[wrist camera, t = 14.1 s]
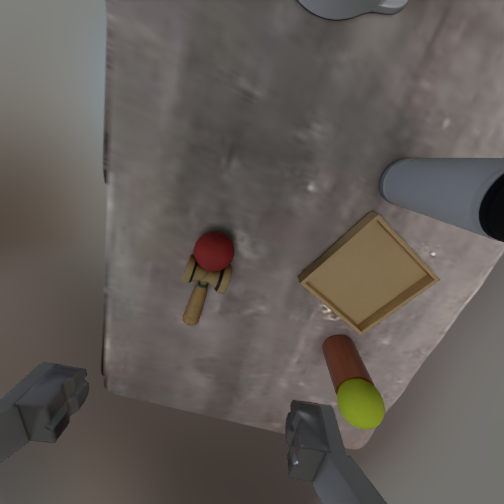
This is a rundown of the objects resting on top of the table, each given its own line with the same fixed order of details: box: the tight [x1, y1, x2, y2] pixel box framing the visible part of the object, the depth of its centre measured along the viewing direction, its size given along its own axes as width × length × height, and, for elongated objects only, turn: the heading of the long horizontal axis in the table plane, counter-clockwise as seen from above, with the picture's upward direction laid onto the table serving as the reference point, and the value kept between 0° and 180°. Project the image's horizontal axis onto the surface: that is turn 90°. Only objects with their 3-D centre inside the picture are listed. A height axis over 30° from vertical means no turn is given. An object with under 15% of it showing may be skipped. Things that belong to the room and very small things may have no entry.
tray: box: [298, 211, 440, 335], centre depth 38 cm, size 15×15×2 cm
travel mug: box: [380, 158, 504, 242], centre depth 24 cm, size 6×7×20 cm
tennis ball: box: [337, 378, 385, 429], centre depth 35 cm, size 6×6×6 cm
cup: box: [323, 335, 375, 394], centre depth 41 cm, size 6×6×9 cm
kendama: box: [182, 232, 234, 325], centre depth 38 cm, size 8×6×18 cm
